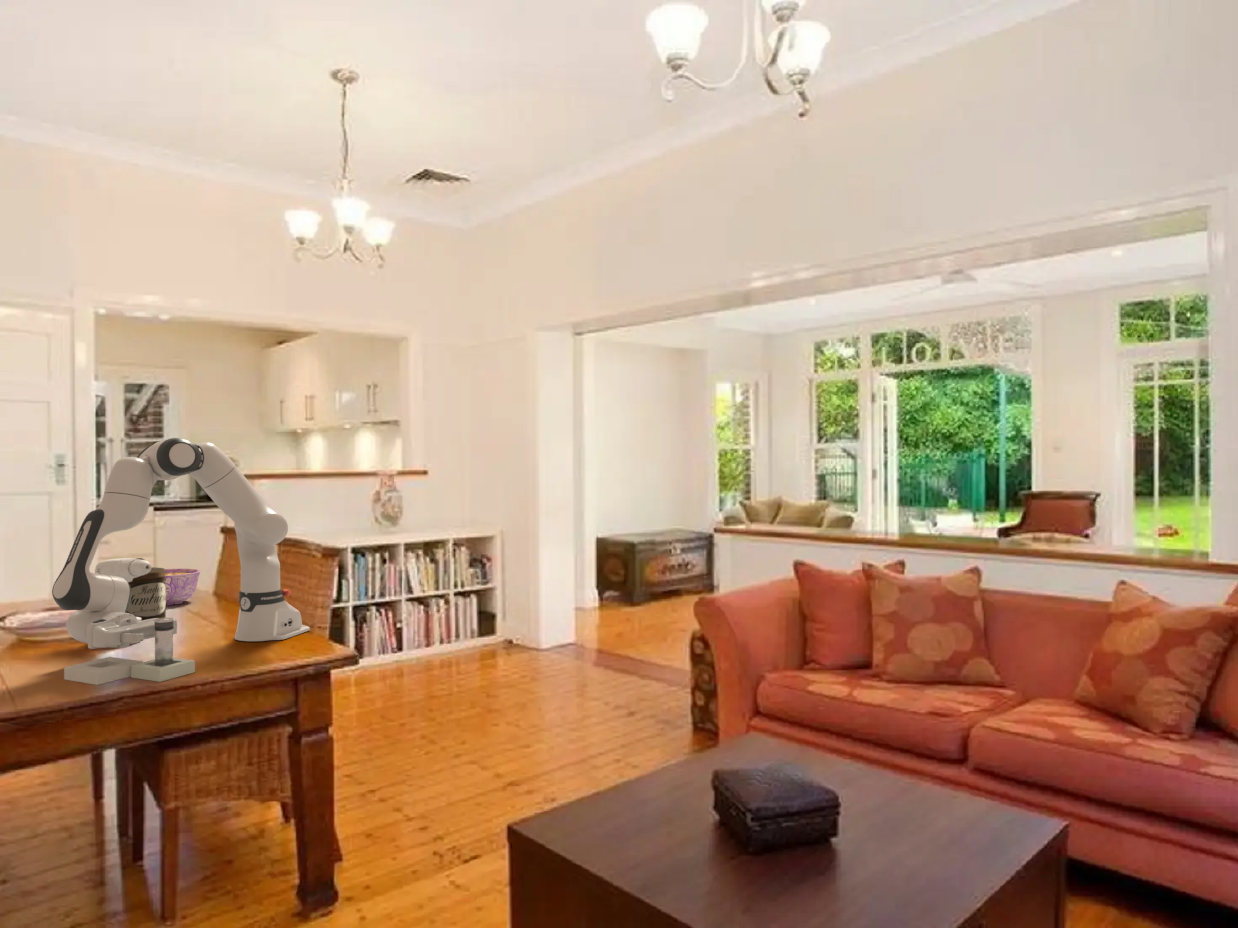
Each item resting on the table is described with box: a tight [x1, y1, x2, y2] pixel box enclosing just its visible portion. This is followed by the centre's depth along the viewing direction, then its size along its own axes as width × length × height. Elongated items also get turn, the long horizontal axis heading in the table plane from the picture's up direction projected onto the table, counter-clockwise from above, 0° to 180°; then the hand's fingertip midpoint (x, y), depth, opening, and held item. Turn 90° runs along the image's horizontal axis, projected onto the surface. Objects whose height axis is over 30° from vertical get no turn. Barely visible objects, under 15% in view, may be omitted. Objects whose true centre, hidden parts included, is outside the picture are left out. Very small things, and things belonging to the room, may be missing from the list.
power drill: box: [94, 557, 152, 645], centre depth 248 cm, size 8×24×25 cm, turn 58°
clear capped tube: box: [154, 617, 174, 667], centre depth 213 cm, size 4×4×14 cm
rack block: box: [130, 657, 196, 683], centre depth 213 cm, size 10×10×3 cm
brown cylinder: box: [126, 557, 167, 621], centre depth 271 cm, size 15×15×22 cm
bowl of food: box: [164, 568, 201, 606], centre depth 314 cm, size 20×20×12 cm
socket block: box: [63, 656, 144, 686], centre depth 211 cm, size 12×12×3 cm
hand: (158, 634), depth 213 cm, fingers open, 8 cm apart
